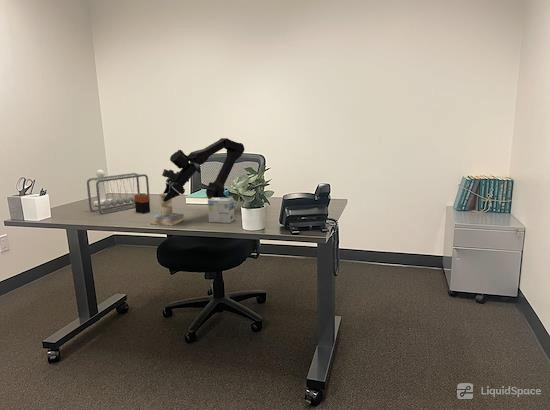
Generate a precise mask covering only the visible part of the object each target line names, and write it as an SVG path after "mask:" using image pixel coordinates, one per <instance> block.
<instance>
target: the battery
mask: <svg viewBox="0 0 550 410" xmlns="http://www.w3.org/2000/svg"><path fill="white" fill-rule="evenodd" d="M134 195H135V204H134V206H135V208H134V209H135V212H136V213H140V214H149V213H150V212H151V205H150V203H149V197H150V194H149V195H147V194H146V192H145V193H144V192H142V193H141V192H140V193H138V192H137V194H134Z"/></svg>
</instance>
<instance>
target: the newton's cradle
mask: <svg viewBox="0 0 550 410" xmlns="http://www.w3.org/2000/svg"><path fill="white" fill-rule="evenodd" d="M141 177H145V182H146V195H149V204H150V202H151V199H150V198H151V197H150V188H149V187H150V185H149V177H148V175H147V174H146V173H145V174H143V173H142V174H139V173H136V172H133V173H132V172H131V173H124V174H116V175H109V176H104V177H98V176H97V177H91V178H88V179H87V181H86V189H87V199H88V206H89V207H88V208H89V210H90V212H92V213H93V212H96V213H99V214H100V215H106V214H110V213H116V212H121V211H122V212H123V211H125V210H126V211H127V210H130V209H136V208H135V195H136V194H134V191H131V193H132V195H131V196H130V197H129V196H128V195H127V191H124V194H125V196H124V198H123V197H122V195H121V194H122V193H121V191H122V190H121V188H122V187H121V186H120V190H119V189H118V190H117V191H118V193H119V194H118V196H119V197H118V198H115V197H114V193H112V195H111V196H112V198H111V199H112V200H111V201H109V200H107V199H108V198H106V200H105V201H104V203H103V204H104V205H103V206H104V207H102V208H101V206H102V205H100V195H99V182H104V184H103V185H104V186H105V182H111V181H116V182H118V181H119V180H128V179H129V180H128V181H131V180H130V179H133V181H132V182H133V186H132V184H131V182H129V184H130V186H132V187H135V179H134V178H136V187H137V188H136V189H137V194H138V193H141V192H140V190H141V189H140V181H139V180H140V179H139V178H141ZM99 179H102V180H99ZM117 180H118V181H117ZM91 181H96V182H95V186H96V196H97V197H96V199H97V201H98V206H97V209H96V208H95V209H93V207H92V199H91V198H92V197H91V196H92V195H91V187H90V186H91V185H90V182H91ZM122 182H123V184H125V182H124V181H122ZM109 184H110V186H112V185H111V183H109ZM116 186H117V187H118V186H119V185H118V184H116ZM132 187H130V188H131V189H130V190H133V189H132ZM123 188H124V189H126V187H125V186H123ZM104 190H105V191H106V188H105V189H104ZM110 190H111V192H113V190H112V188H110ZM105 195H106V196H107V193H106V194H105ZM133 205H134V206H133ZM126 206H127V207H126ZM122 207H123V208H122ZM115 208H116V209H115ZM105 210H108V211H105Z"/></svg>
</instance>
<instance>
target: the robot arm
mask: <svg viewBox="0 0 550 410" xmlns="http://www.w3.org/2000/svg"><path fill="white" fill-rule="evenodd" d="M223 149H225V150H226V158H225V159H224V162H223V163H222V166H221V168H220V170H219V172H218V174H217V176H216V178H215V180H214V181H213V182H211V181H210V182H209V183H208V186H207V187H206V189H205V190H206V191H205V194H206V197H207V200H208V199H211V198H213V197H214V198H228V197H227V195H225V194H224V193H225V184H226V182H227V180H228V178H229V176H230V173H231V172H232V169H233V167H234V165H235V163H236V161H237V160H238V159H240V158H241V157H242V155H243V153H245V146H244V144H243V143H242V142H236V141H234V140H231V139H229V138H228V137H226V138H225V137H221V138H219V139H218V140H217V141H215V142H213V143H212V144H209V145H208V146H206V147H204V148H202V149H198V150H194V151H192V152H190V153H189V154H187V155H186V154H185V153H184V151H183V150H181V149H178V150H177V151H176V152H174V153H173V154H171V156H170V158H169V161H170V162H171V163H172V164H173V165H175V167H177V168H178V169H180V171H176V172H174V171H175V170H172V169H165V168H164V169H163V171H162V174H161V176H162V177H164V178H167V179H166V180H165V189H164V190H163V192H162V194H165V193H167V195H166V196H165V198H164V200H163V201H164V202H166V201H168V200H170V199H172V200H173V199H174V198H176V197H178V196H182V195H183V194H184V193H185V192H186V189H185V184H187V183H189V182H190V179H191V178H192V177H193V176H194V175H195V174H196V173H198V174H199V175H200V174H201V167H200V166H196V165H204V164H205V163H206V162H207V161H208V159H209V158H210V157H211V156H212V155H214V154H217V153H218V152H220V151H222V150H223Z"/></svg>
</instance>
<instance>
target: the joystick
mask: <svg viewBox="0 0 550 410" xmlns="http://www.w3.org/2000/svg"><path fill="white" fill-rule="evenodd" d="M105 173H106V172H105V171H104V170H103V169H97V171H96V172H95V175H96V176H97V178H98V177H105ZM99 180H102V179H99ZM103 184H104V185H103ZM98 185H99V195H100V205H101V206H104V204H103V203H104V201H105V200H106V199H107V200H109V201H111V200H112V199H113V198H107V192H106V188H105V181H104V182H99V184H98ZM104 189H105V190H104ZM105 194H106V195H105ZM96 206H97V207H98V200H95V201H93V207H96Z"/></svg>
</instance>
